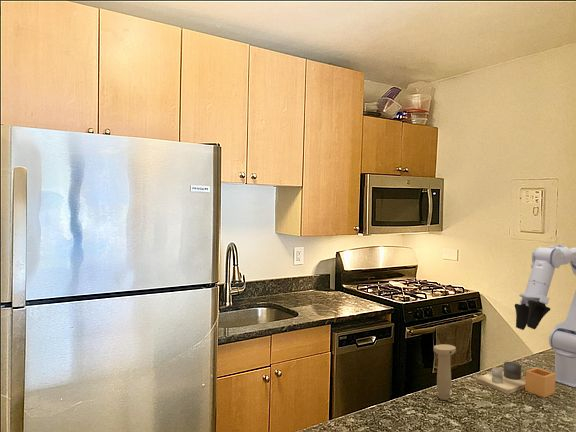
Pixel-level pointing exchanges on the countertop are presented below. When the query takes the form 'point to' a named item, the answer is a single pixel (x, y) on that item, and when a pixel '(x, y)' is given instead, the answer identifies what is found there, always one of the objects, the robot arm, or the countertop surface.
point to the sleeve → (540, 382)
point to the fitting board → (504, 378)
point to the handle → (444, 369)
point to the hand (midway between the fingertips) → (525, 328)
